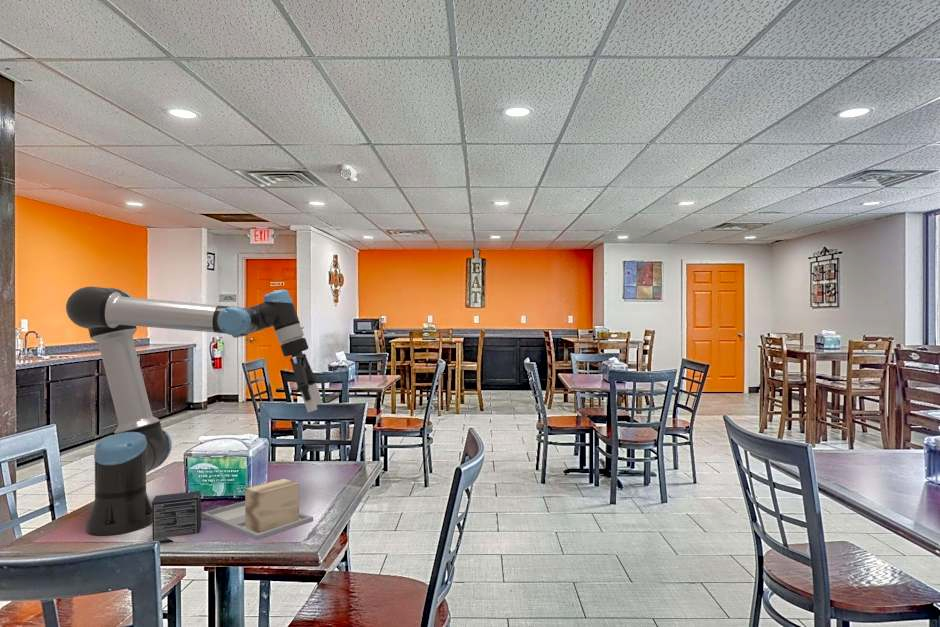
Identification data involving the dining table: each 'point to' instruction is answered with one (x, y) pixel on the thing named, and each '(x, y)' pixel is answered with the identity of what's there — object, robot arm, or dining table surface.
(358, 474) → the dining table surface
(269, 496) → the block
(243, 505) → the tray
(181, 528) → the small box
